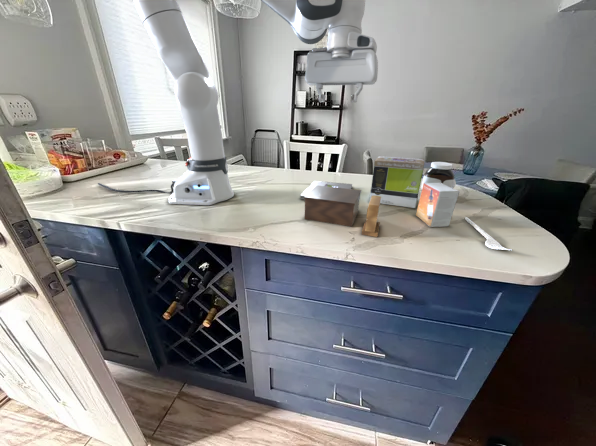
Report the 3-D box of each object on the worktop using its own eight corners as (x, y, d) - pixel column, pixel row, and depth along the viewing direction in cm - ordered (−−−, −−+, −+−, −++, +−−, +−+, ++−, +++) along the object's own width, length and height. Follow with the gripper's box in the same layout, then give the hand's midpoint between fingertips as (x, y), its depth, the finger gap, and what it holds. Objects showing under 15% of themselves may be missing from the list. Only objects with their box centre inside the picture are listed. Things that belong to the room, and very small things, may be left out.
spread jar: (420, 195, 92) (427, 164, 87) (419, 187, 101) (425, 158, 96) (456, 199, 88) (466, 167, 83) (451, 190, 97) (460, 161, 92)
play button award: (300, 195, 87) (314, 180, 104) (300, 199, 88) (314, 184, 105) (345, 200, 83) (352, 184, 100) (345, 204, 83) (352, 187, 101)
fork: (470, 220, 72) (472, 214, 71) (512, 257, 54) (515, 249, 53) (459, 219, 73) (460, 213, 72) (496, 255, 55) (499, 248, 54)
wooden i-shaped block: (361, 234, 64) (365, 203, 60) (365, 223, 70) (368, 195, 66) (377, 237, 62) (382, 206, 59) (379, 226, 68) (384, 197, 65)
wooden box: (303, 219, 72) (303, 197, 69) (316, 205, 83) (316, 185, 80) (352, 227, 68) (354, 203, 65) (358, 211, 78) (361, 190, 75)
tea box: (416, 199, 87) (425, 158, 81) (415, 209, 79) (425, 163, 73) (373, 194, 93) (378, 154, 87) (368, 202, 85) (374, 159, 79)
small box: (415, 215, 75) (422, 182, 70) (432, 215, 75) (441, 182, 71) (430, 227, 67) (439, 191, 63) (449, 226, 68) (460, 190, 63)
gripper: (303, 44, 67) (300, 99, 71) (380, 38, 60) (371, 100, 64) (311, 52, 73) (307, 103, 77) (382, 47, 65) (374, 104, 70)
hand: (337, 102), depth 70 cm, fingers open, 8 cm apart
